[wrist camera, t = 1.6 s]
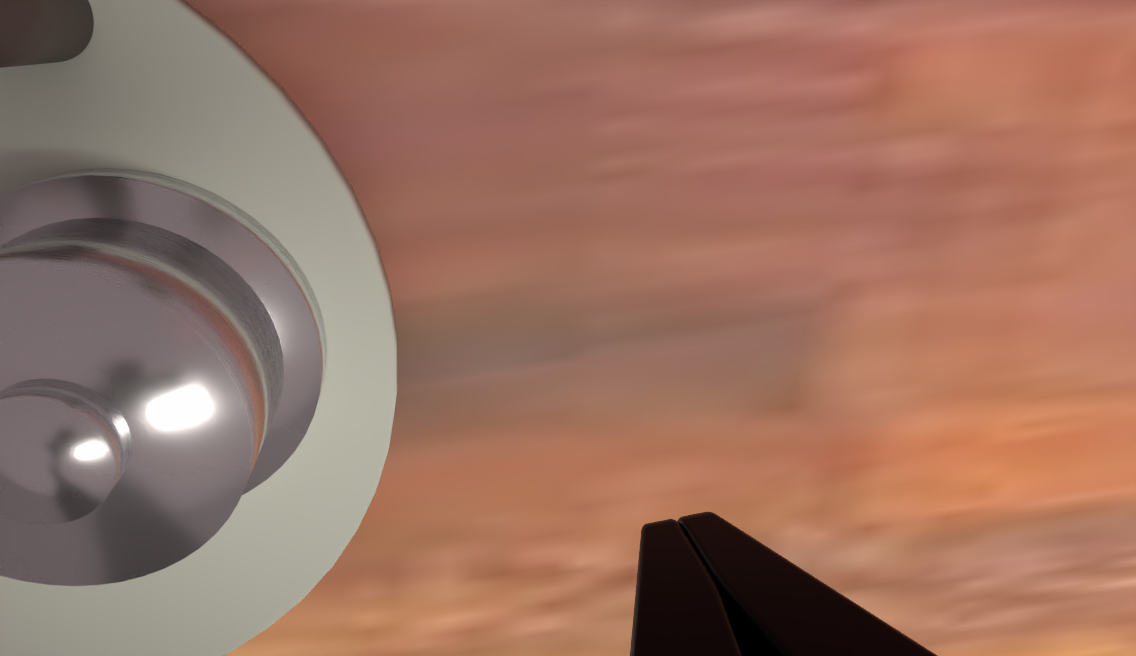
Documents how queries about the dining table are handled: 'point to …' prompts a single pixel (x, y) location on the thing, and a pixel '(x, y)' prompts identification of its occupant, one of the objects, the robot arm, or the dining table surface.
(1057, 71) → the dining table surface
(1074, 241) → the dining table surface
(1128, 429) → the dining table surface
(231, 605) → the turntable
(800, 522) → the dining table surface
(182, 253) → the cover cap
